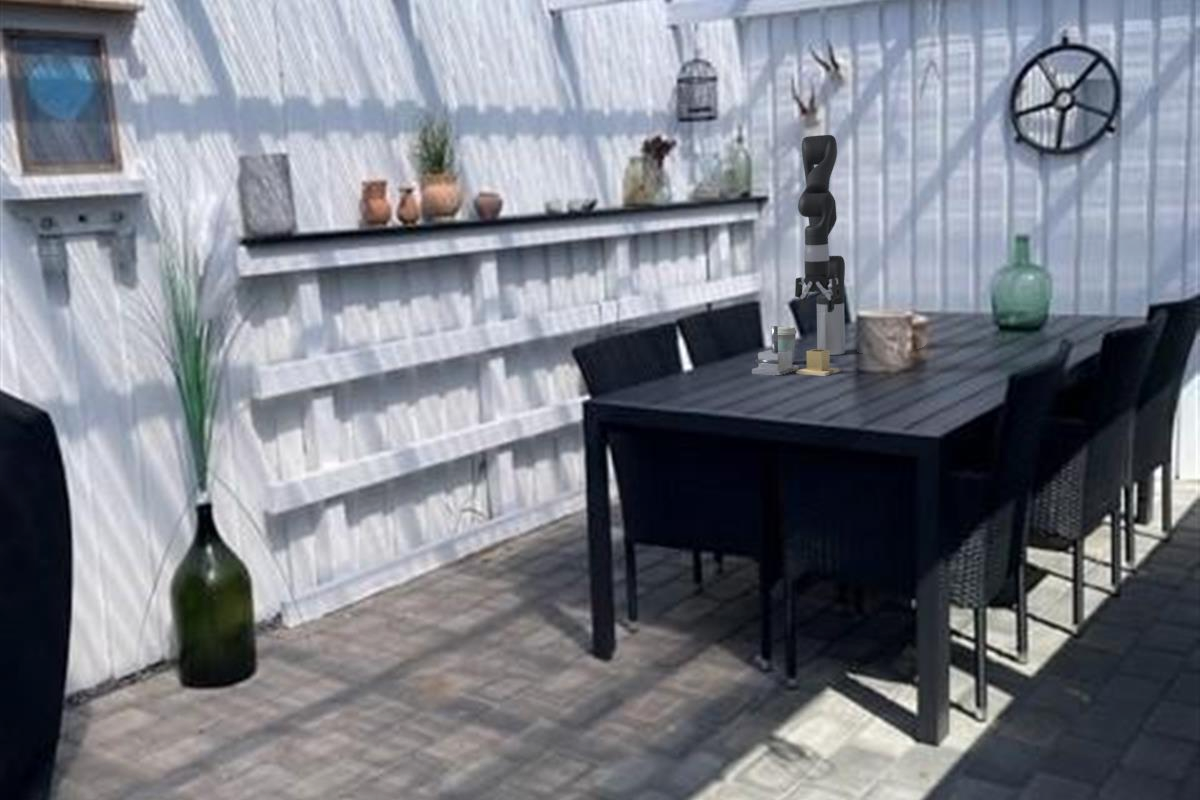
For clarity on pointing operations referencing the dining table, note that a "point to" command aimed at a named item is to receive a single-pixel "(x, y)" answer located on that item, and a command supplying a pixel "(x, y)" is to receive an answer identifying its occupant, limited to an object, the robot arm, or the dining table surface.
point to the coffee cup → (786, 338)
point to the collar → (818, 359)
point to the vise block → (774, 359)
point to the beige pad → (818, 372)
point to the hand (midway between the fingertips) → (817, 311)
